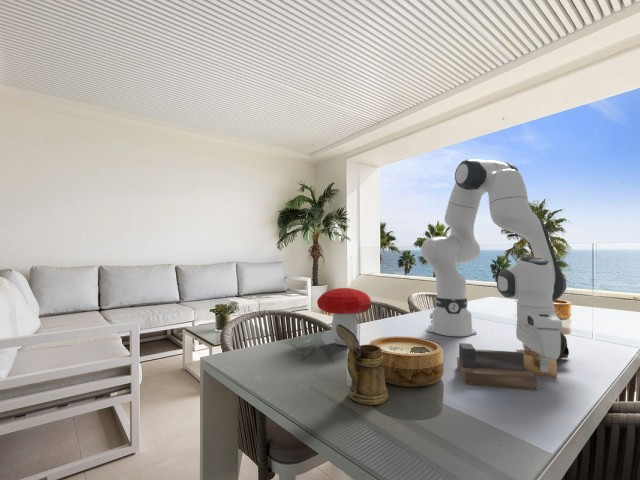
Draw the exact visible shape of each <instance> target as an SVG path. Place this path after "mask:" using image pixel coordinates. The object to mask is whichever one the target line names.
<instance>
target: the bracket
mask: <svg viewBox="0 0 640 480" xmlns="http://www.w3.org/2000/svg"><path fill="white" fill-rule="evenodd" d="M458 345H459V347H458V348H459V349H458V351H459V355H458V356H457V357H456V360H457V361H456V365H457V367H456V368H457V370H458V372H459V374H460V376H461V378H462V379H463V382H464V383H465V385H469V386H481V387H492V388H506V389H507V388H508V389H517V390H528V391H529V390H531V391H537V390H538V386H537V385H538V384H537V383H538V381H537V377H536V375H534V374H532V373H531V372H530V371H529V370H528V369H527V368H525V367H524V354H523V353H522V352H516V351H509V350H507V351H505V350H494V349H493V350H490V349H476V348H475V347H474V346H473V344H472V343H466V342H465V343H463V342H459V344H458Z"/></svg>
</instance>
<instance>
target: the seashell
mask: <svg viewBox="0 0 640 480" xmlns="http://www.w3.org/2000/svg"><path fill="white" fill-rule="evenodd" d="M560 336H561V347H560V356H559V358H558V359H557V360H559V359H568V358H569V356H570V350H569V348H568V340H567V337H566V336H565V334H564V333H563V332H561V331H560Z"/></svg>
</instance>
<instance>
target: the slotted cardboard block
mask: <svg viewBox="0 0 640 480" xmlns="http://www.w3.org/2000/svg"><path fill="white" fill-rule="evenodd" d="M515 350H516V351H515V352H522V353H523V354H524V367H525V368H527V369H528V370H529V371H530V372H531V373H532V374H533V375H534V376H536V375H537V376H538V375H539V376H552V377H557V376H558V371H557V370H558V367H557V366H558V365H557V362H558V361H557V360H558V359H550V363H549V365H548V372H541V371H540V370H539V369H538V363H540V358H539V355H538V354H537V353H536V352H534V351H533V350H524V349H515Z"/></svg>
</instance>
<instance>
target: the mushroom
mask: <svg viewBox="0 0 640 480" xmlns="http://www.w3.org/2000/svg"><path fill="white" fill-rule="evenodd" d="M316 303H317V307H318V308H319V309H320V310H321V311H323V312H325V313H328V314H333V317H332V321H331V326H330V327H331V338H332V339H333V341H334V342H335V343H336V344H337V345H340V346H347V345H346V344H345V343H344V342H343V341H342V340H341V339H340V337H339V336H338V334H337V332H336V326H337V325H338V324H340V325H342V326H344V327H346V328H347V329H349V330H350V331H351V332H352V333H353V334H354V335H355V336H356V338H357V339H358V322H357V316H356V315H357V314H362V313H366V312H367V311H369V310H370V308H371V304H372V299H371V297H370V296H369V295H368V294H367V293H366V292H364V291H361V290H358V289H354V288H350V287H338V288H333V289H329V290H327V291H325V292H323V293H322V294H321V295H320V296H319V298H317V302H316Z"/></svg>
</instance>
